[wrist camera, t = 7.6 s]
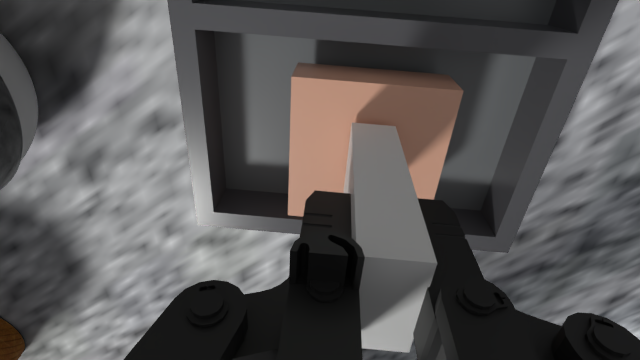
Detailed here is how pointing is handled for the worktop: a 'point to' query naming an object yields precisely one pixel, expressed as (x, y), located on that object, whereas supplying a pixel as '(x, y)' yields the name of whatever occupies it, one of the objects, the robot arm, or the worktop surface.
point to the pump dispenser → (15, 111)
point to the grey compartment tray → (389, 54)
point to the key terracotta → (369, 108)
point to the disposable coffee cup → (10, 342)
